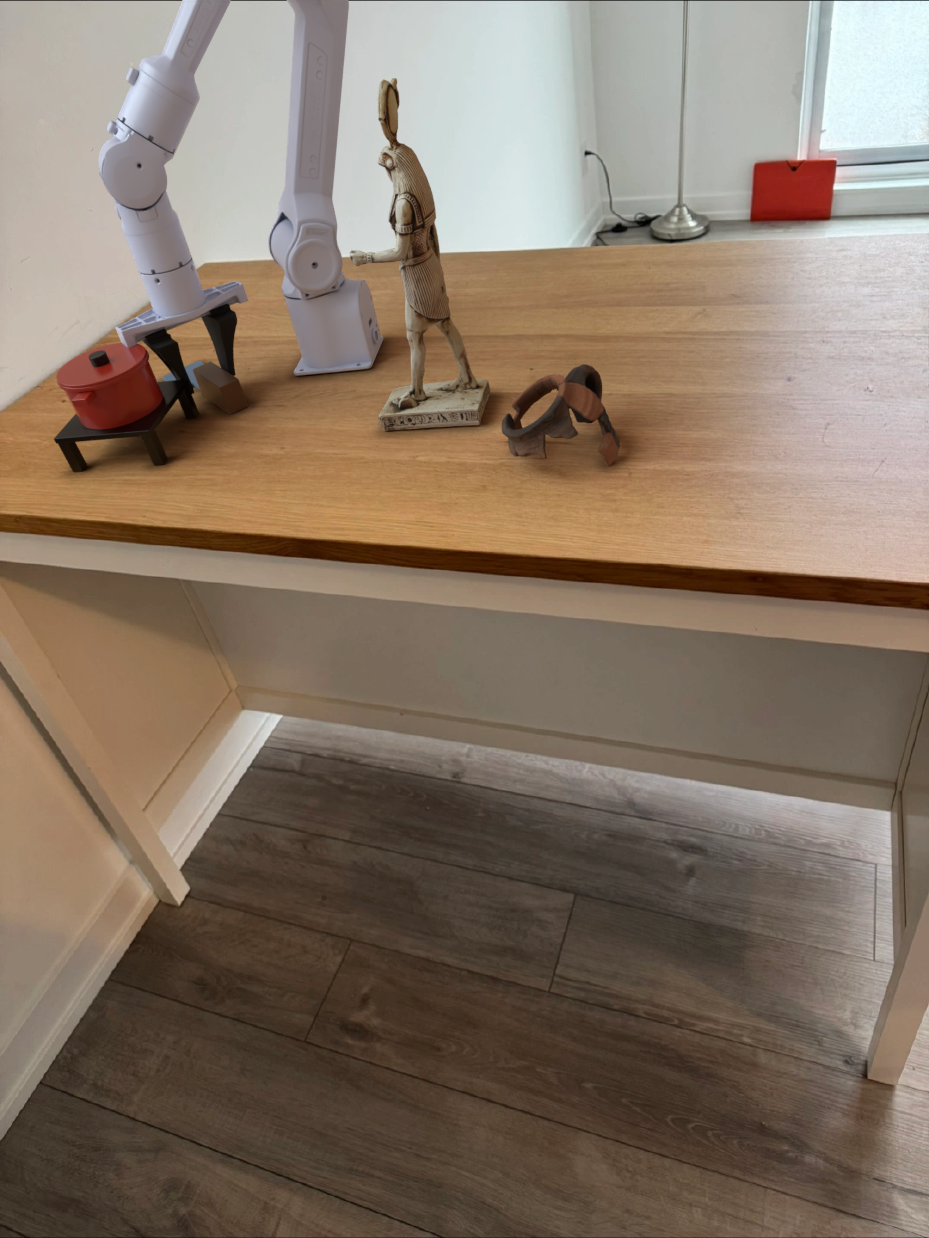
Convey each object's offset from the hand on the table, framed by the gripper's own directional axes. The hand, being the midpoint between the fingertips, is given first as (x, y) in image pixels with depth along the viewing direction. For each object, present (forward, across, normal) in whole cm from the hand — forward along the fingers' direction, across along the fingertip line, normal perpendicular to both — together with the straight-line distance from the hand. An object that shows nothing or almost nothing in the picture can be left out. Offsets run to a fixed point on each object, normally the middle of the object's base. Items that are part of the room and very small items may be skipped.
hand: (209, 383), depth 101 cm
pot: (+2, +10, +2) cm, 11 cm away
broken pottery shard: (+2, -18, +42) cm, 45 cm away
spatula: (+2, 0, -2) cm, 3 cm away
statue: (+2, -14, +25) cm, 29 cm away
